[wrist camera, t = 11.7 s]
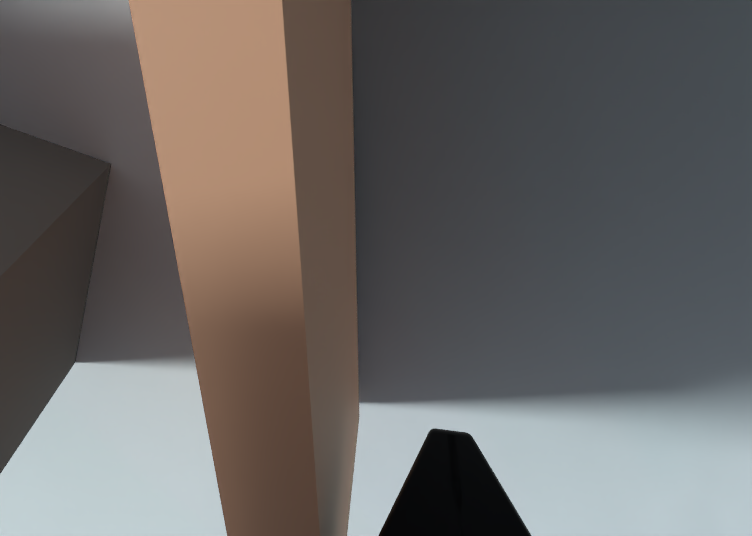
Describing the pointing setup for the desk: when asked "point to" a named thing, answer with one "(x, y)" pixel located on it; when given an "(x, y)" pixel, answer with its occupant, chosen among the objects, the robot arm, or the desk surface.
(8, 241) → the block
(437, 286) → the desk surface
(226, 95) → the door
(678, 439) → the desk surface
